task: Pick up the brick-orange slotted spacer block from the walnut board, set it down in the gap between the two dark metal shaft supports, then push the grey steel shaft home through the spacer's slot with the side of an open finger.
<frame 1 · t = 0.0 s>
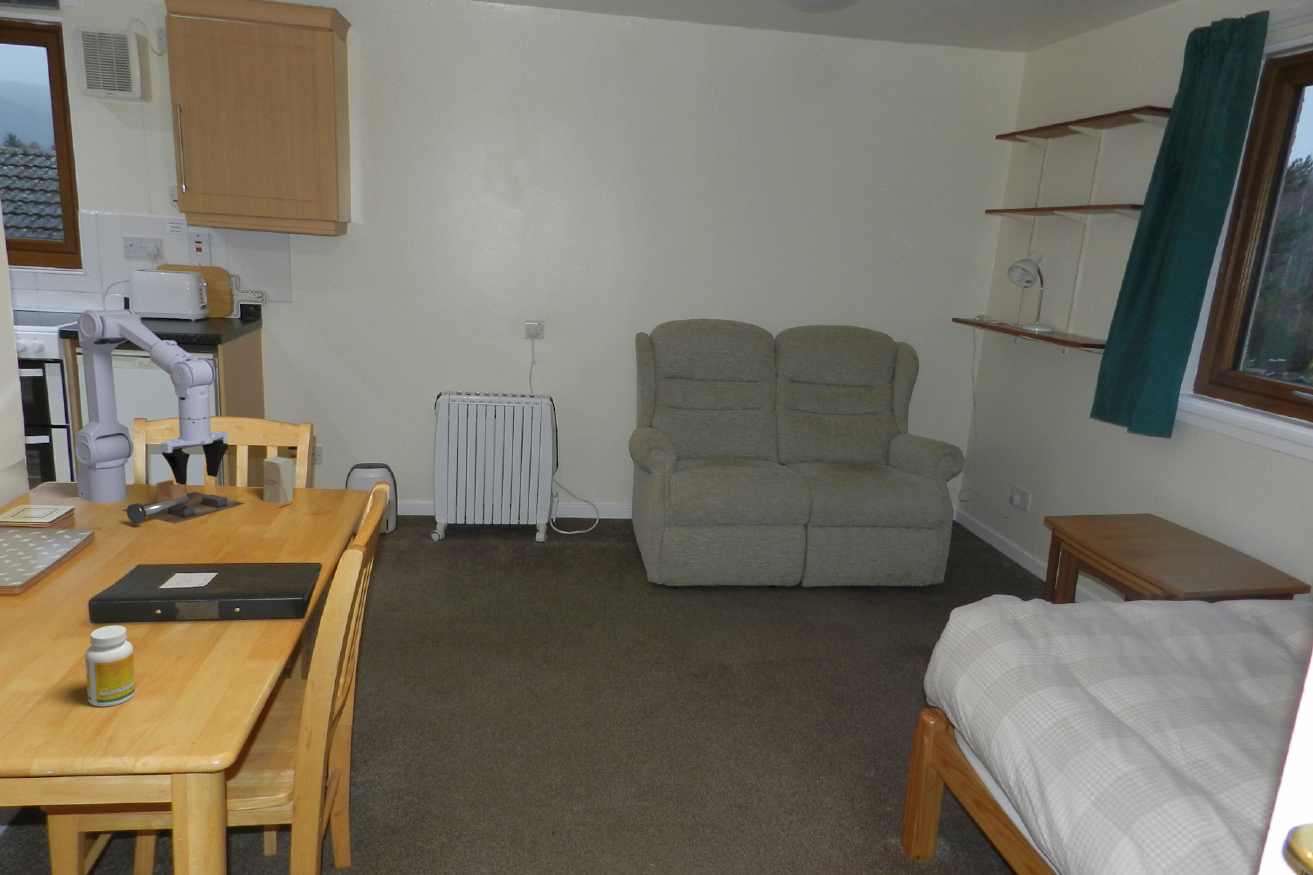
hand: (197, 479, 178), 10 cm above the table, tool pointing down, fingers open, 7 cm apart
supplement bottle: (112, 698, 113), on the table
shaft: (160, 506, 177), point 4 cm above the table, slide at 7.5 cm
board: (185, 510, 188), on the table
spacer: (172, 503, 189), point 1 cm above the table, touching board
supports: (178, 519, 182), resting on board
box: (278, 505, 197), on the table
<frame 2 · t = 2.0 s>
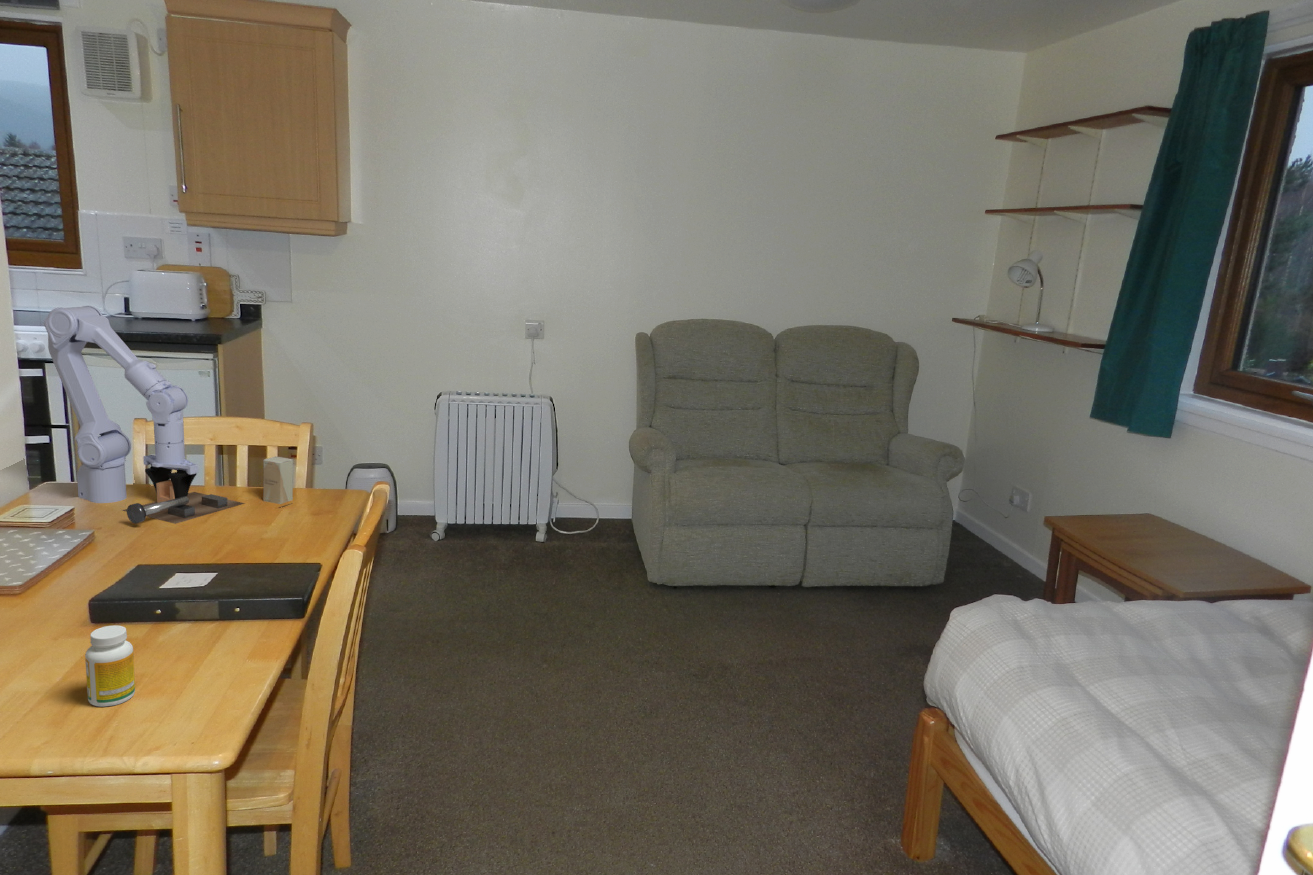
hand: (172, 499, 189), 2 cm above the table, tool pointing down, fingers closed on spacer, 5 cm apart
spacer: (172, 503, 189), point 1 cm above the table, touching board, gripper
everything else where it was.
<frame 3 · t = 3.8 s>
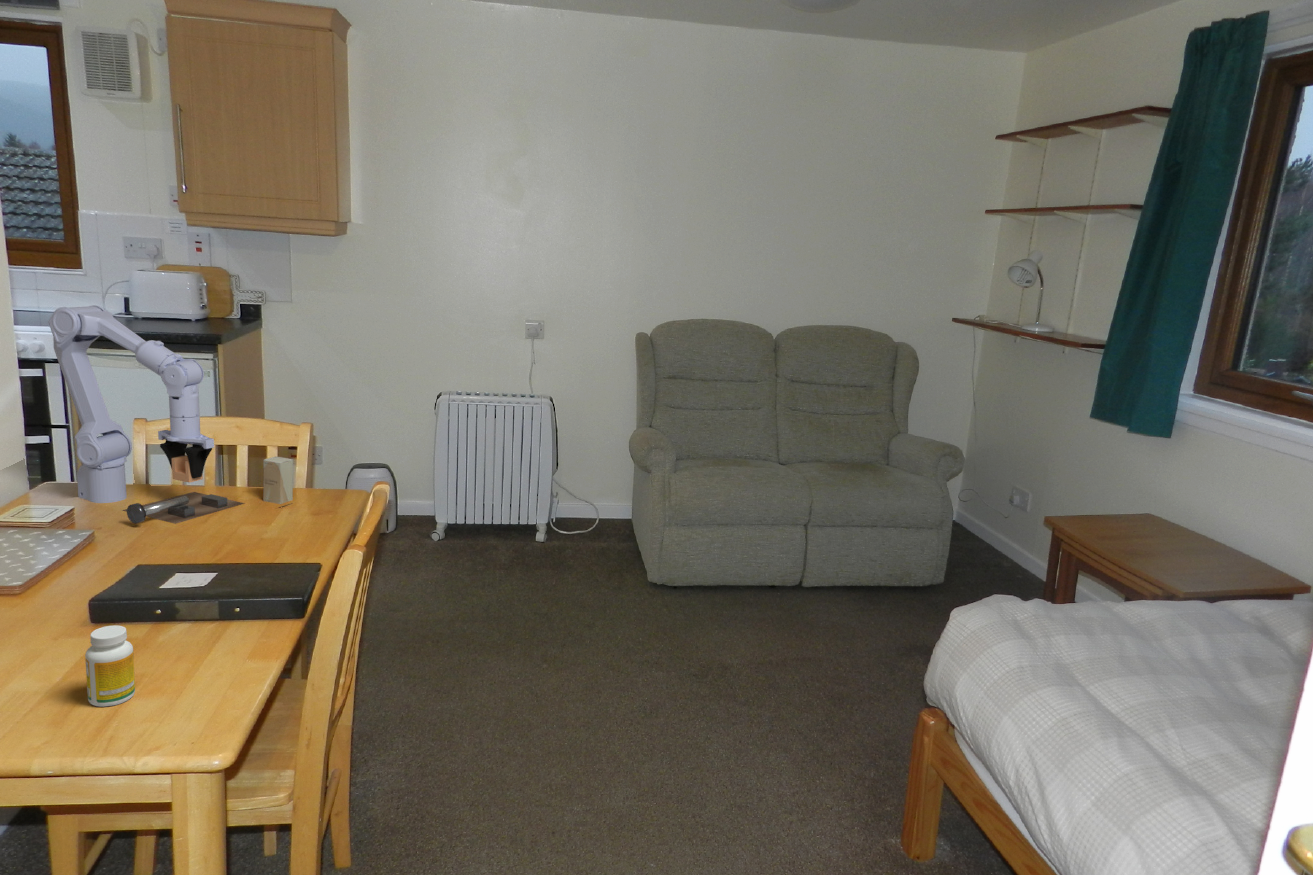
hand: (187, 475, 186), 8 cm above the table, tool pointing down, fingers closed on spacer, 5 cm apart
spacer: (187, 479, 186), point 8 cm above the table, touching gripper
everything else where it was.
when the fingers open (2 cm above the table, at t = 5.9 s): spacer stays where it is, resting on board.
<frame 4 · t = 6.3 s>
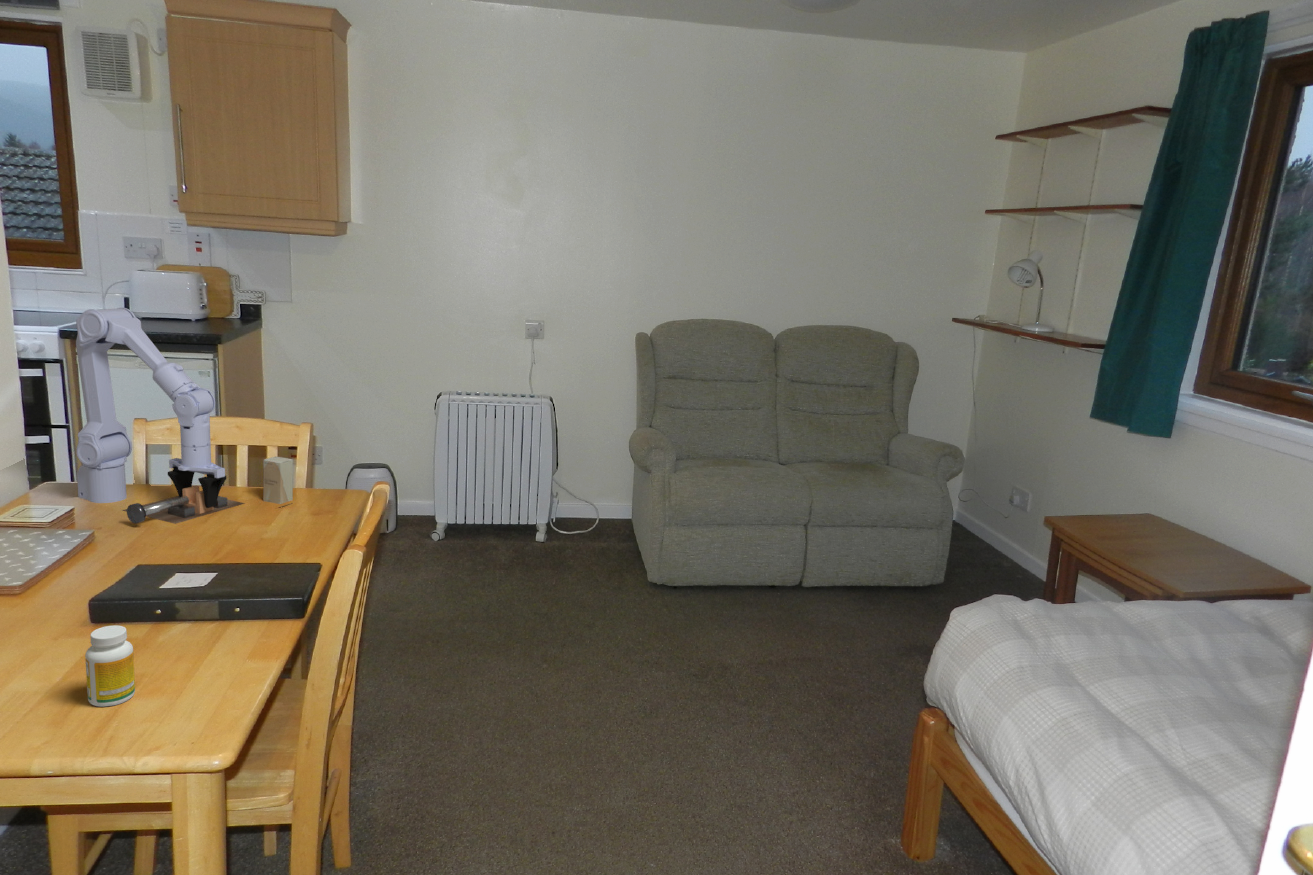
hand: (198, 503, 186), 2 cm above the table, tool pointing down, fingers open, 7 cm apart
spacer: (198, 509, 186), point 1 cm above the table, touching board
everything else where it was.
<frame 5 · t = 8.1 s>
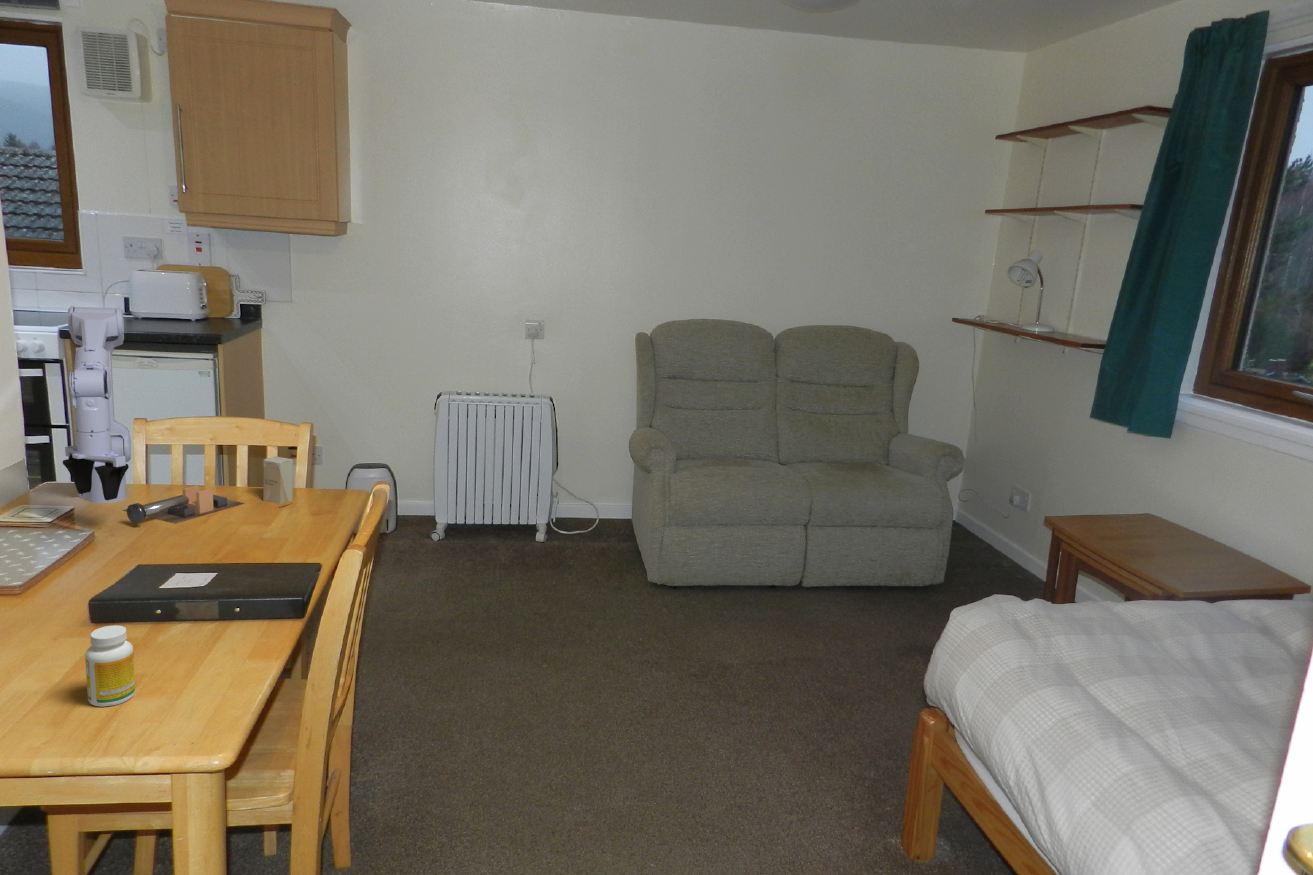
hand: (97, 495, 168), 8 cm above the table, tool pointing down, fingers open, 7 cm apart
nothing on the table moved.
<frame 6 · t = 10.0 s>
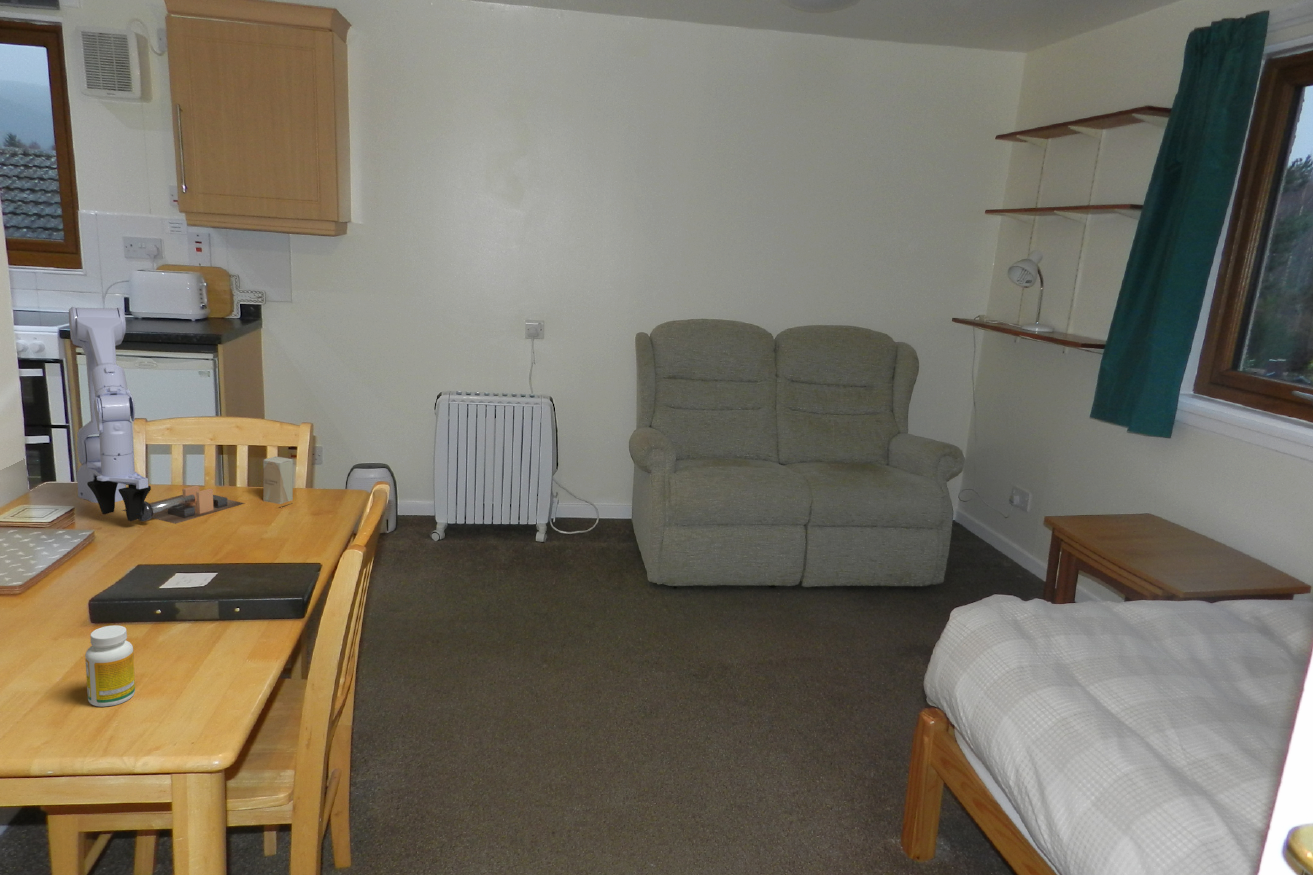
hand: (120, 516, 173), 3 cm above the table, tool pointing down, fingers open, 7 cm apart
shaft: (167, 504, 179), point 4 cm above the table, slide at 5.9 cm, touching gripper
everything else where it was.
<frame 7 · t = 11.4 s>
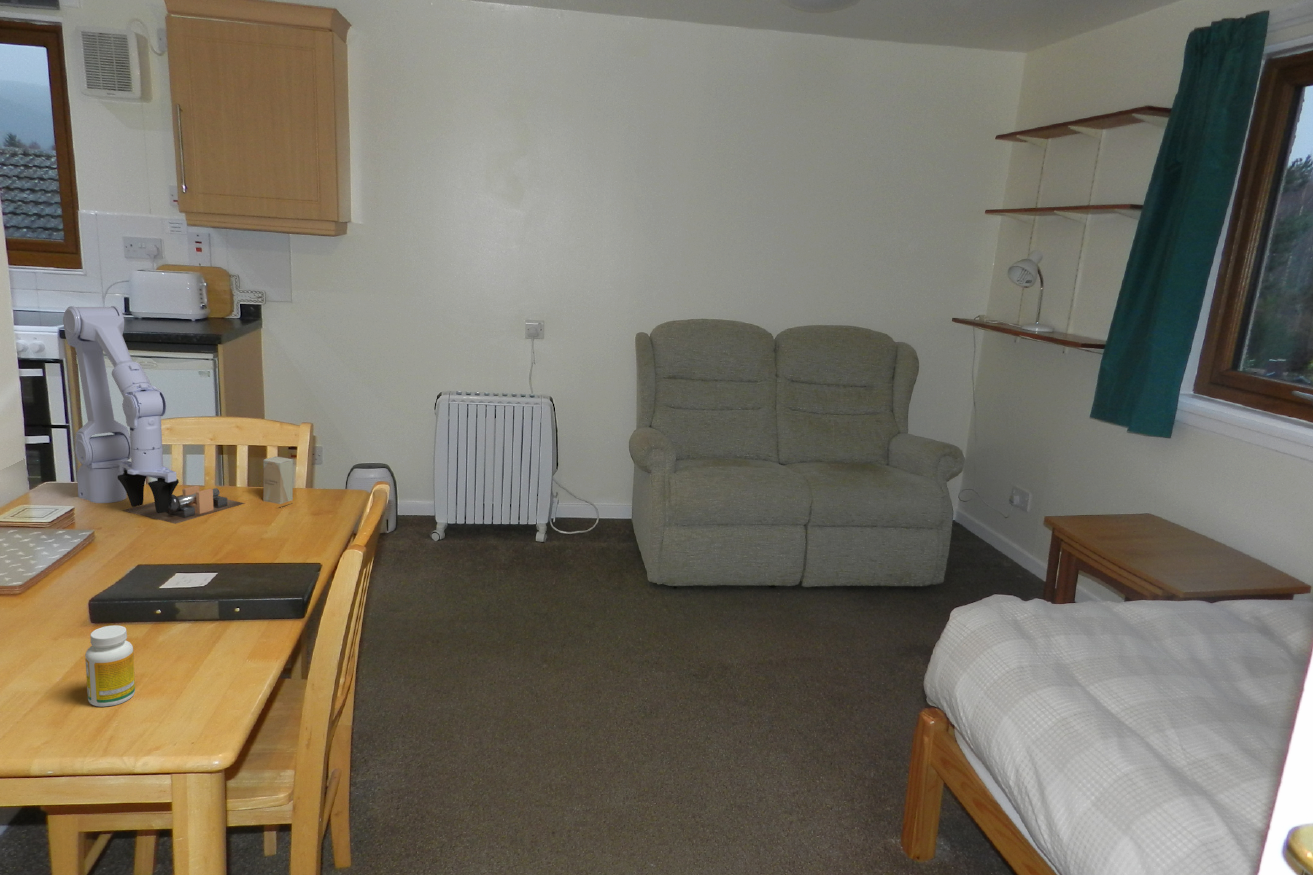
hand: (149, 508, 179), 3 cm above the table, tool pointing down, fingers open, 7 cm apart
shaft: (193, 498, 185), point 4 cm above the table, slide at -0.4 cm, touching gripper
everything else where it was.
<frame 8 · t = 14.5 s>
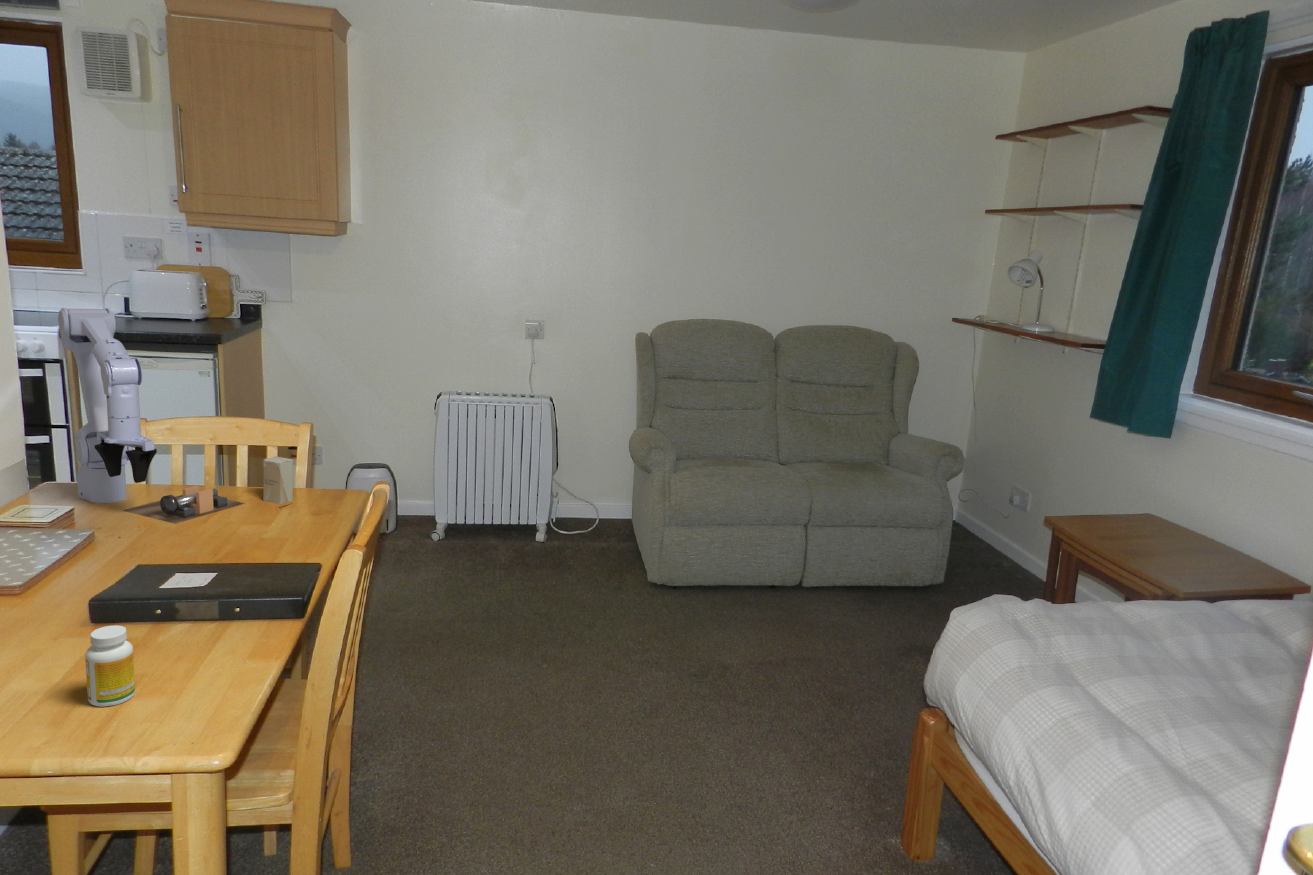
hand: (127, 478, 177), 9 cm above the table, tool pointing down, fingers open, 7 cm apart
shaft: (191, 498, 184), point 4 cm above the table, slide at 0.0 cm
everything else where it was.
at the end: shaft slide at 0.0 cm; spacer 0.0 cm from the target spot, point 1.0 cm above the table; spacer tilted 0° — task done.
